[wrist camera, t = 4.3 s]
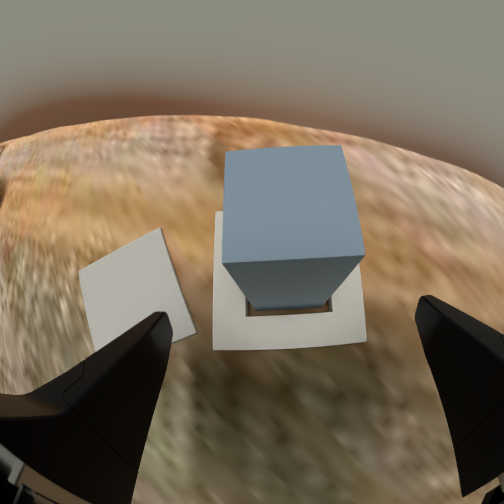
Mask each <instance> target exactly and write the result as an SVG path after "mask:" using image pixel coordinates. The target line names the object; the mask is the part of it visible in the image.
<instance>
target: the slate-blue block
mask: <svg viewBox="0 0 504 504" xmlns="http://www.w3.org/2000/svg"><path fill="white" fill-rule="evenodd" d="M364 256H365V250H364V244H363V238H362V233H361V227H360V222H359V217H358V212H357V207H356V203H355V198H354V194H353V189H352V185H351V181H350V177H349V173H348V169H347V165H346V161H345V158H344V154H343V150H342V147H341V146H292V147H274V148H260V149H248V150H237V151H228V152H226V155H225V175H224V200H223V230H222V264H223V266H224V267H225V268H226V270H227V271H228V273H229V274H230V276H231V277H232V278H233V280H234V281H235V283H236V284H237V285H238V287H239V288H240V290H241V291H242V292H243V294H244V295H245V297H246V298H247V299H248V301H249V302H250V304H251V305H252V306H253V308H254V309H255V310H256V311H271V310H291V309H307V308H321V307H322V306H323V305H324V304H325V303H326V301H327V300H328V299H329V298H330V297H331V296H332V295H333V293H334V292H335V291H336V290H337V289H338V288H339V286H340V285H341V284H342V283H343V282H344V280H345V279H346V278H347V277H348V276H349V274H350V273H351V272H352V271H353V270H354V268H355V267H356V266H357V265H358V263H359V262H360V261H361V260H362V258H363V257H364Z"/></svg>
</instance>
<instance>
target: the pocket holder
mask: <svg viewBox="0 0 504 504" xmlns="http://www.w3.org/2000/svg"><path fill="white" fill-rule="evenodd" d="M222 230H223V211H216V216H215V240H214V273H213V350H270V349H292V348H308V347H321V346H332V345H342V344H351V343H359V342H367V338H366V324H365V312H364V301H363V292H362V283H361V275H360V267H359V263H358V265H357V266H356V267H355V268H354V270H353V271H352V272H351V273H350V274H349V276H348V277H347V278H346V279H345V280H344V282H343V283H342V284H341V285H340V286H339V288H338V289H337V290H336V291H335V292H334V293H333V295H332V296H331V297H330V298H329V299H328V304H329V312H325V313H312V314H296V315H278V316H253V317H248V299H247V298H246V297H245V295H244V294H243V292H242V291H241V290H240V288H239V287H238V285H237V284H236V283H235V281H234V280H233V278H232V277H231V276H230V274H229V273H228V271H227V270H226V268H225V267H224V266H223V264H222Z"/></svg>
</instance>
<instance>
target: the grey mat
mask: <svg viewBox="0 0 504 504" xmlns="http://www.w3.org/2000/svg"><path fill="white" fill-rule="evenodd" d="M79 277H80V283H81V289H82V295H83V300H84V305H85V310H86V315H87V320H88V324H89V328H90V332H91V336H92V340H93V344H94V348H95V351H98V350H99V349H101V348H102V347H104V346H105V345H107V344H108V343H109V342H111V341H112V340H114V339H115V338H117V337H118V336H120V335H121V334H123V333H124V332H126V331H127V330H129V329H130V328H131V327H133V326H134V325H136V324H137V323H139V322H140V321H142V320H143V319H145V318H146V317H148V316H149V315H151V314H152V313H154V312H155V311H165V312H166V313H167V314H168V317H169V320H170V323H171V326H172V329H173V338H172V343H175V342H177V341H180V340H182V339H185V338H187V337H189V336H192V335H194V334H197V333H198V332H197V329H196V326H195V324H194V321H193V319H192V316H191V314H190V311H189V308H188V306H187V303H186V300H185V297H184V295H183V292H182V289H181V286H180V284H179V281H178V278H177V275H176V272H175V269H174V266H173V263H172V260H171V257H170V254H169V251H168V248H167V245H166V241H165V238H164V235H163V232H162V229H161V228H160V227H159V228H157V229H155V230H153V231H151V232H149V233H147V234H145V235H143V236H142V237H140V238H138V239H136V240H134V241H132V242H130V243H128V244H126V245H125V246H123V247H121V248H119V249H117V250H115V251H114V252H112V253H110V254H108V255H106V256H105V257H103V258H101V259H99V260H97V261H96V262H94V263H92V264H90V265H89V266H87V267H85V268H84V269H82V270H80V271H79ZM172 343H171V344H172Z"/></svg>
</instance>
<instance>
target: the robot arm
mask: <svg viewBox="0 0 504 504" xmlns="http://www.w3.org/2000/svg"><path fill="white" fill-rule="evenodd" d="M415 322H416V325H417V328H418V332H419V335H420V339H421V342H422V346H423V349H424V353H425V356H426V359H427V361H428V364H429V367H430V369H431V372H432V375H433V378H434V381H435V384H436V387H437V390H438V393H439V396H440V399H441V402H442V405H443V409H444V412H445V416H446V419H447V423H448V427H449V431H450V435H451V439H452V443H453V447H454V449H455V450H454V452H455V457H456V462H457V468H458V473H459V479H460V486H461V493H462V497H465V496H466V495H468V494H470V493H472V492H474V491H475V490H477V489H479V488H480V487H482V486H484V485H485V484H487V483H489V482H490V481H492V480H493V479H495V478H496V477H498V479H499V483H500V485H498V486H497V487H495V488H494V489H492V490H491V491H489V492H488V493H486V495H485V497H484V499H483V501H482V503H481V504H504V335H503V334H502V333H500V332H498V331H496V330H495V329H493V328H491V327H489V326H488V325H486V324H484V323H482V322H480V321H479V320H477V319H475V318H473V317H471V316H470V315H468V314H466V313H464V312H462V311H460V310H458V309H457V308H455V307H453V306H451V305H449V304H447V303H445V302H443V301H442V300H440V299H438V298H436V297H434V296H432V295H425V296H421V297H420V299H419V302H418V305H417V309H416V313H415ZM172 338H173V329H172V326H171V323H170V320H169V317H168V314H167V313H166V312H165V311H155V312H154V313H152V314H151V315H149V316H148V317H146V318H145V319H143V320H142V321H140V322H139V323H137V324H136V325H134V326H133V327H131V328H130V329H129V330H127V331H126V332H124V333H123V334H121V335H120V336H118V337H117V338H115V339H114V340H112V341H111V342H109V343H108V344H107V345H105V346H104V347H102V348H101V349H99V350H98V351H96V352H95V353H93V354H92V355H90V356H89V357H88V358H86V359H85V360H83V361H82V362H80V363H79V364H77V365H76V366H74V367H73V368H71V369H70V370H68V371H67V372H65V373H63V374H62V375H60V376H58V377H57V378H55V379H53V380H51V381H50V382H48V383H46V384H44V385H43V386H41V387H39V388H37V389H36V390H34V391H32V392H30V393H27V394H24V395H10V394H1V393H0V504H131V501H132V496H133V492H134V487H135V483H136V479H137V475H138V470H139V466H140V462H141V458H142V454H143V450H144V446H145V443H146V439H147V435H148V431H149V428H150V424H151V421H152V417H153V414H154V410H155V407H156V403H157V400H158V396H159V393H160V390H161V386H162V383H163V380H164V377H165V373H166V369H167V364H168V359H169V354H170V348H171V343H172Z"/></svg>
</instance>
